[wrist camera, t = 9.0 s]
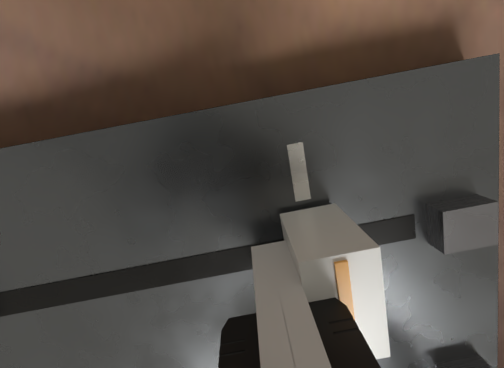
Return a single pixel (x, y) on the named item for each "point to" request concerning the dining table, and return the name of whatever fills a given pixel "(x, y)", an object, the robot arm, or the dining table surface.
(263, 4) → the dining table surface
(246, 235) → the console board
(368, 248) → the block
